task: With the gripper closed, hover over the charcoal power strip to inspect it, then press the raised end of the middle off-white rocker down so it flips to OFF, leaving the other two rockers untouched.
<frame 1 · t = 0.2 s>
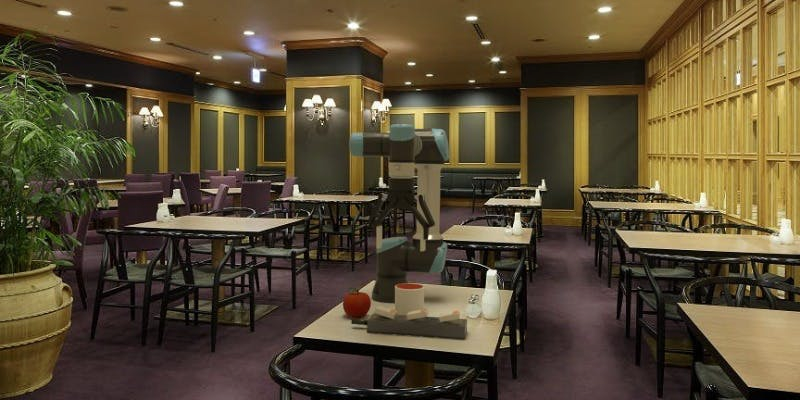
hand: (400, 249, 173), 27 cm above the table, fingers open, 13 cm apart
fruit: (356, 317, 198), on the table
cup: (409, 315, 201), on the table
rocker 2: (417, 313, 181), point 6 cm above the table, hinge at 14.0°, touching power strip
power strip: (417, 332, 181), on the table
rocker 1: (386, 311, 183), point 6 cm above the table, hinge at -14.0°, touching power strip
rocker 3: (449, 316, 179), point 6 cm above the table, hinge at 14.0°, touching power strip
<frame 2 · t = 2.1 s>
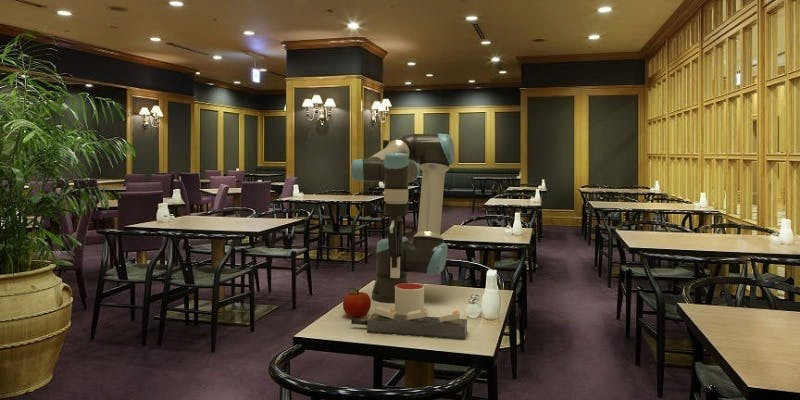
hand: (395, 277, 184), 16 cm above the table, fingers closed
nothing on the table moved.
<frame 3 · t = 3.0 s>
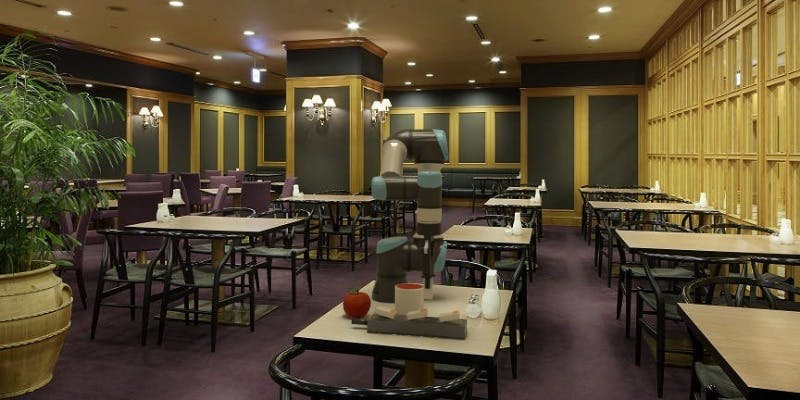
hand: (427, 298, 179), 11 cm above the table, fingers closed
nothing on the table moved.
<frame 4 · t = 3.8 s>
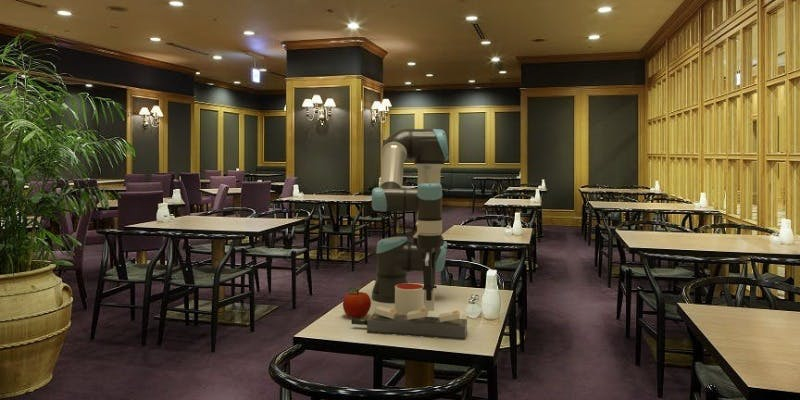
hand: (429, 310, 180), 7 cm above the table, fingers closed
rocker 2: (417, 313, 181), point 6 cm above the table, hinge at 13.3°, touching gripper
everything else where it was.
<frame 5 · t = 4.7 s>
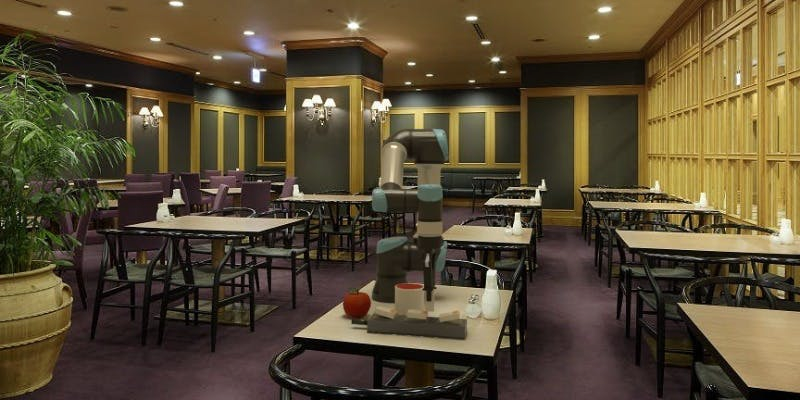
hand: (429, 310, 180), 7 cm above the table, fingers closed
rocker 2: (417, 313, 181), point 6 cm above the table, hinge at -2.8°
everything else where it was.
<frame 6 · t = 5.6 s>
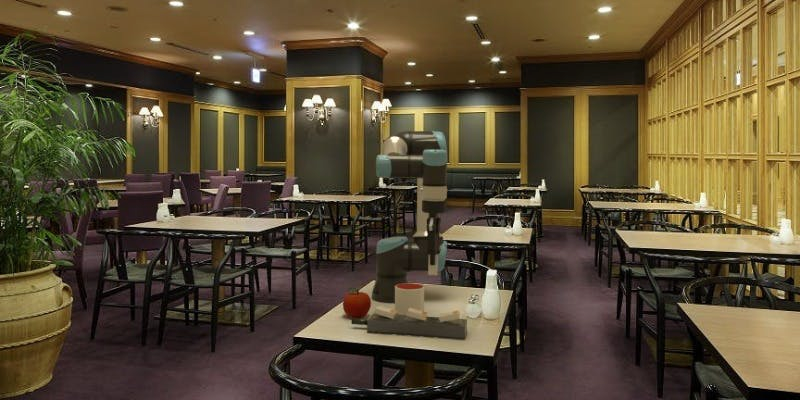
hand: (432, 274, 183), 18 cm above the table, fingers closed
rocker 2: (417, 313, 181), point 6 cm above the table, hinge at -11.7°
everything else where it was.
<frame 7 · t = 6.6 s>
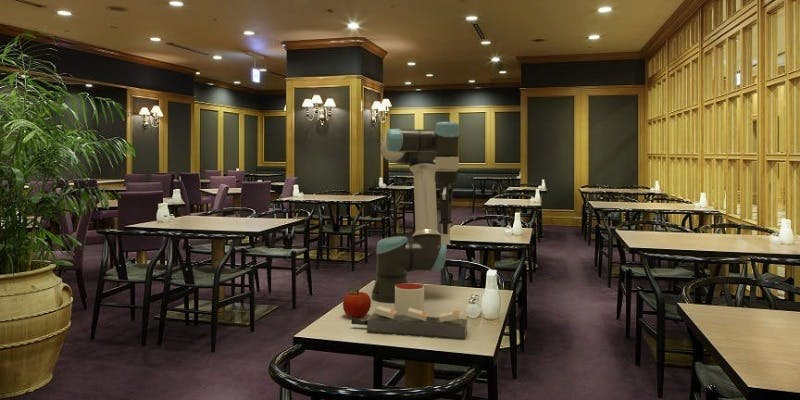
hand: (445, 243, 189), 26 cm above the table, fingers closed
rocker 2: (417, 313, 181), point 6 cm above the table, hinge at -13.3°
everything else where it was.
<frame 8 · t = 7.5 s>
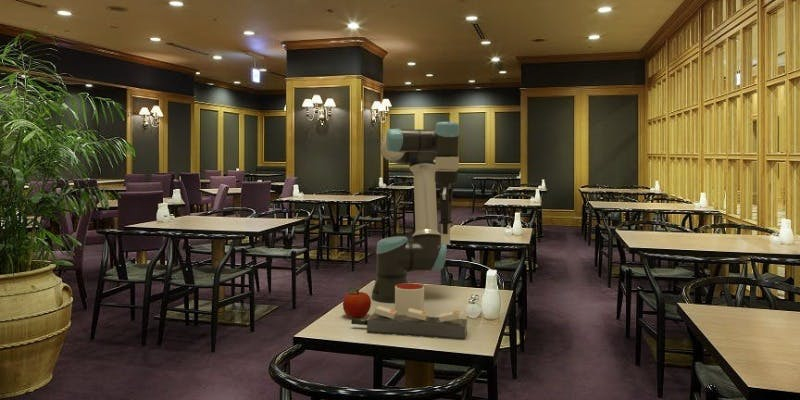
hand: (445, 243, 189), 26 cm above the table, fingers closed
rocker 2: (417, 313, 181), point 6 cm above the table, hinge at -10.5°
everything else where it was.
at the end: rocker 2 at -10° (first picture: +14°); rocker 3 at +14° (first picture: +14°); rocker 1 at -14° (first picture: -14°) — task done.
